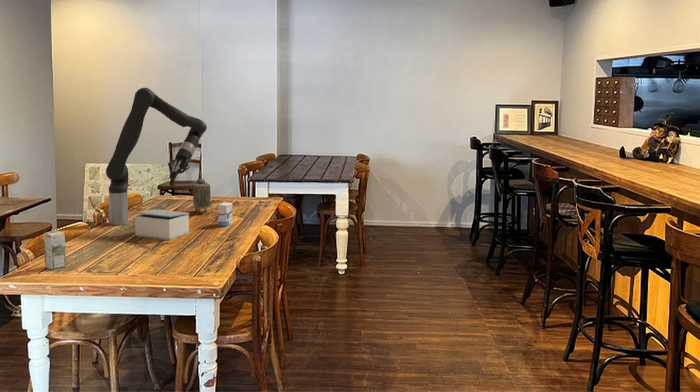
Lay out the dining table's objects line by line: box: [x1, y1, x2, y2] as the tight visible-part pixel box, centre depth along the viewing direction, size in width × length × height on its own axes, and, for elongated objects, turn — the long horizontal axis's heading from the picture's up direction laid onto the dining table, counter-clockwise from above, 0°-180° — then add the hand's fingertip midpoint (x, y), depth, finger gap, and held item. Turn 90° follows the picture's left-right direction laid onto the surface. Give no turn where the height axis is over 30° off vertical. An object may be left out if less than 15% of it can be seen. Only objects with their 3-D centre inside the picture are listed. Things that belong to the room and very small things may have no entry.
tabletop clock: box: [192, 170, 212, 215], centre depth 361 cm, size 14×9×25 cm, turn 17°
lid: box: [133, 208, 190, 217], centre depth 304 cm, size 21×16×1 cm
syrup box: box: [43, 230, 67, 270], centre depth 247 cm, size 6×6×14 cm
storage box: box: [134, 213, 190, 241], centre depth 305 cm, size 20×16×10 cm
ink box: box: [217, 201, 233, 228], centre depth 331 cm, size 8×5×12 cm, turn 168°
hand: (171, 178), depth 309 cm, fingers closed
